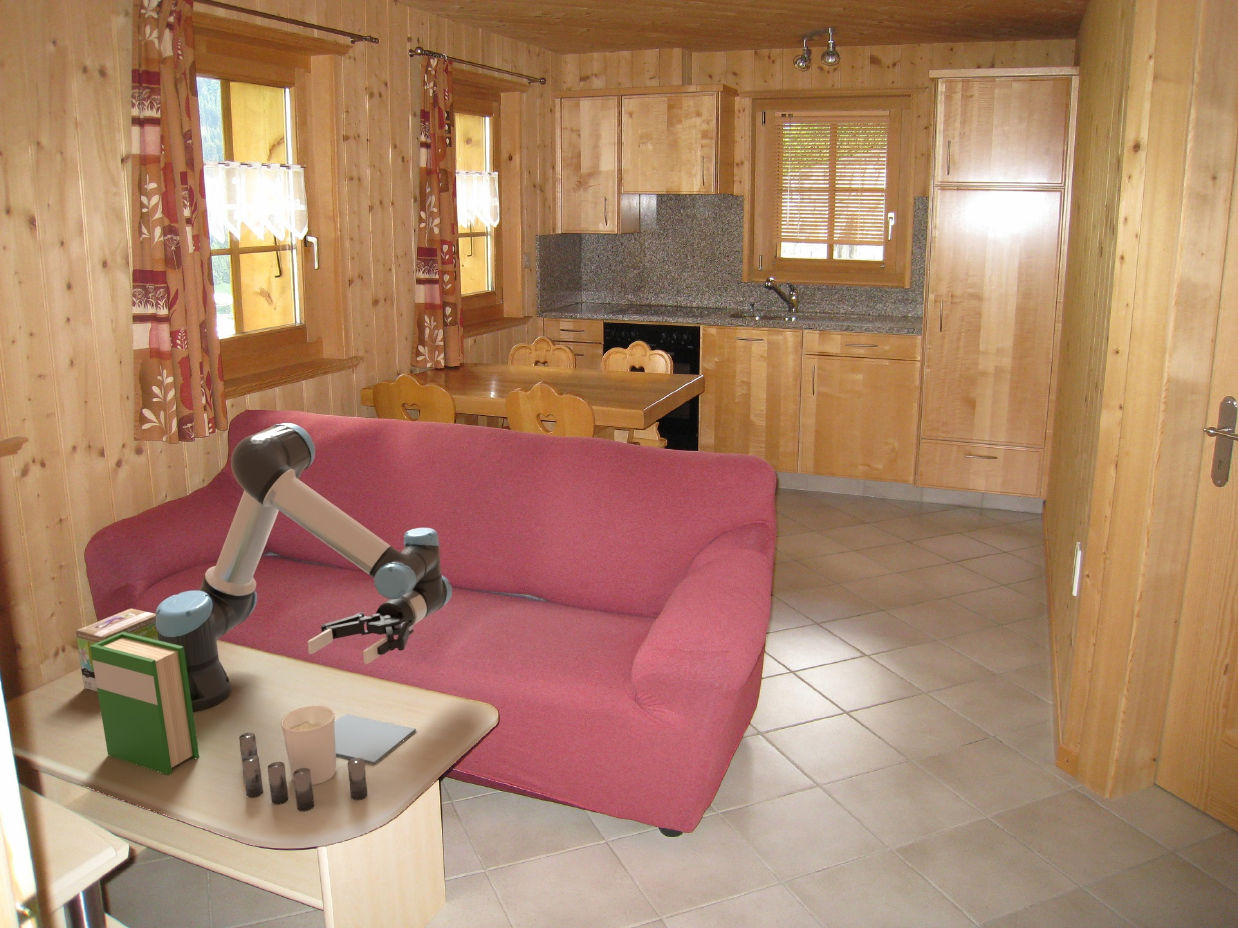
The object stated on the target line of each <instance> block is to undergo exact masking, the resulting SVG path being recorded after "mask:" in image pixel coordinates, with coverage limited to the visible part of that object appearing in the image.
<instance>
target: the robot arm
mask: <svg viewBox="0 0 1238 928" xmlns="http://www.w3.org/2000/svg"><path fill="white" fill-rule="evenodd" d="M315 457H316V446H315V443H314V441H313V439H312V436H311V435H310V433H308V431H307V430H305V429H304V428H303V427H302V426H300V425H298V424H295V423H291V422H284V423H279V424H274V425H271V426H270V427H268V428H265V429H263V430H261V431H259V432H256V433H254V434H251V435H248V436H246V437H244V438H243V439H242V440H241V441H239V442H238V443H237V445H235V448H234V449H233V451H232V454H231V458H230V466H231V471H232V475H233V477H234V479H235V480H236V482H237V483H238V485H239V486H240V487H241V489H243V493H242V495H241V498H240V502H239V503H238V507H237V509H236V511H235V514H234V516H233V519H232V521H231V523H230V528H229V531H228V533H227V535H226V539H225V541H224V542H223V546H222V549H221V551H220V554H219V557H218V558H217V562H216V565H214V566H211V567H209V568H208V569H207V570H206V571H205V574H204V576H203V579H202V582H201V584H200V587H199V589H198V590H186V591H182V592H179V593H178V594H173V595H170V596H169V597H167V598H165V599H164V600H163V601H161V602H160V603H159V604H158V606H157V608H156V610H155V614H156V629H157V633H158V639H159V641H163V642H167V643H171V644H175V645H179V646H183V647H184V653H185V660H186V667H187V674H188V681H189V688H190V695H191V702H192V709H193V712H196V711H197V712H198V711H202V710H205V709H208V708H211V707H214V706H217V705H218V704H220V703H221V702H223V701H225V700H226V699H227V698H229V696H230V695H231V693H232V686H231V685H232V684H231V680H230V678H229V676H228V675H227V672H226V670H225V668H224V667H223V665H222V663H221V661H220V657H219V651H218V644H217V643H218V642H217V641H218V640H219V639H220V638H222V637H223V636H224V635H225V634H227V633H228V632H230V631H231V630H232V629H234V628H235V627H237V626H239V625H240V624H242V623H243V622H244V621H246V620H247V619H248V618H249V617H250V615H251V614H252V613H253V611H254V610H255V607H256V606H257V602H258V593H257V592H256V588H257V582H256V580H255V578H254V575H255V572H256V570H257V567H258V564H259V563H260V559H261V558H262V554H263V553H264V549H265V547H266V545H267V543H268V540H269V537H270V534H271V531H272V529H273V527H274V525H275V521H276V520H277V516H278V513H279V512H281V513H282V514H283V515H285V516H286V517H287V518H289V519H291V520H292V521H293V522H295V523H296V524H297V525H299V526H300V527H302V528H303V529H304V530H305V531H307V532H309V533H310V534H311V535H313V536H314V537H315V538H316V539H319V540H320V541H321V542H323V543H324V544H325V545H326V546H328V547H329V548H331V549H332V550H334V551H335V552H337V554H339V555H341V556H342V557H343V558H345V559H346V560H347V561H349V562H351V563H352V564H354V565H355V566H357V567H358V568H359V569H361V570H362V571H363V572H365V573H366V574H368V575H369V576H370V577H371V578H373V582H374V583H373V584H374V587H375V589H376V591H377V592H378V594H379V595H380V596H382V597H383V598H385V599H388V600H386V601H385V602H383V603H382V604H380V605H379V607H378V608H377V610H376V611H375V613H374V614H371V615H369V616H365V612H363V611H360V612H358V613H356V614H354V615H350V616H347V617H344V618H339V619H337V620H334V621H330V622H327V623H324V624H321V625H320V628H321V632H320V633H318V634H317V635H316V636H314V637H312V638H311V639H308V640H307V647H308V650H307V651H308V654H309V655H312V654H314V653H317V652H318V651H319V650H321V649H323V648H325V647H326V646H328V645H330V644H331V643H333V642H334V640H335V639H341V638H345V637H350V636H355V635H361V636H367V635H371V634H376V635H379V636H381V635H385V637H382V638H381V639H379V640H378V641H376V642H374V643H373V644H371V645H370V646H368V647H367V648H364V650H362V654H363V664H365V665H368V664H370V663H371V662H374V660H376V659H377V658H379V657H380V656H383V655H385V654H386V653H388V652H390V651H394V650H395V649H397V650H398V651H404V650H405V648H406V645H407V642H408V640H409V638H410V636H411V634H413V633H414V626H415V625H416V624H417V623H420V622H421V621H423V619H425V618H428V617H429V616H430V615H432V614H433V613H435V612H437V611H439V610H441V609H442V608H443V607H444V606H445V605H446V604H448V602H449V601H450V600H451V598H452V594H453V587H452V585H451V583H450V581H449V579H448V578H447V577H445V576H444V575H443V574H442V567H441V566H442V565H441V554H440V553H441V551H440V547H441V546H440V545H441V544H440V540H439V533H438V532H437V530H435V529H433V528H431V527H416V528H412V529H410V530H407V531H406V532H405V533H404V535H403V545H404V548H403V549H402V550H401V551H399V550H397V549H396V548H394V547H393V546H391V545H390V544H389V543H387V542H386V541H385V540H383V539H382V538H381V537H379V536H377V535H376V534H375V533H373V532H372V531H371V530H370V529H368V528H366V527H365V526H364V525H362V524H361V523H360V522H358V521H357V520H356V519H354V518H353V517H351V516H350V515H348V514H347V513H346V512H345V511H343V510H342V509H340V508H339V507H338V506H336V505H335V504H333V503H332V502H330V501H329V500H328V499H326V498H325V497H324V496H322V495H321V494H319V493H318V492H317V491H316V490H314V489H312V488H311V487H310V486H308V484H305V482H303V481H301V480H300V477H301V475H302V473H303V472H304V471H305V470H307V469H308V468H310V466H311V465H312V464H313V462H314V460H315ZM365 624H366V626H365ZM365 627H366V629H365ZM394 636H397V638H396V639H395V637H394Z"/></svg>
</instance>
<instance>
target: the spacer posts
mask: <svg viewBox="0 0 1238 928" xmlns="http://www.w3.org/2000/svg"><path fill="white" fill-rule="evenodd" d="M256 737H257V736H256V733H254V732H251V731H250V732H245V733H242V734H240V735H239V737H238V741H239V748H240V757H241V764H242V770H243V778H244V785H245V794H246V797H247V798H250V799H253V798H254V799H255V798H257V797H260V796H262V795H263V794H264V785H263V778H262V770H261V762H260V757H259V754H258V753H259V752H258V745H257V738H256ZM365 765H366V764H365V762H364V759H362V758H353V759H349V760H348V761H347V771H348V772H347V773H348V781H349V790H350V791H349V792H350V793H349V794H350V799H351V800H353V801H361V800H364V799H366V798H367V797H368V786H367V776H366V775H367V774H366V766H365ZM267 775H268V783H269V784H268V785H269V791H270V793H269V794H270V800H271V804H273V805H283V804H285V803H286V802H288V800H289V799H290V798H289V792H288V782H287V774H286V765H285V762H282V761H274V762H272V763H270V764H268V766H267ZM293 777H294V781H293V783H294V792H295V801H296V809H297V811H299V812H308V811H311V810H312V809H313V808H314V807H315V801H314V800H315V799H314V791H313V789H314V788H313V785H312V780H311V771H310V769H308V768H301V769H298V770H296V771H295V772H294V773H293Z"/></svg>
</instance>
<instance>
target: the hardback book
mask: <svg viewBox="0 0 1238 928" xmlns="http://www.w3.org/2000/svg"><path fill="white" fill-rule="evenodd" d="M90 649H91V655H92V661H93V667H94V673H95V679H96V685H97V691H98V692H97V691H96V692H97V695H98V702H99V709H100V714H101V720H102V727H103V733H104V739H105V745H106V752H107V755H110V756H109V757H111V756H112V758H114V757H115V759H117V758H118V760H121V761H123V762H124V761H125V762H127V763H131V764H134V765H136V764H137V765H136V766H140V767H142V766H143V768H145V767H146V768H145V769H148V768H149V769H148V770H151V769H152V770H151V771H154V770H155V771H154V772H157V771H159V772H158V773H160V772H161V773H160V774H163V773H164V774H163V775H166V774H167V775H166V776H169V775H168V774H170V773H171V774H173V770H172V768H174V767H176V766H177V765H179V764H181V763H182V762H184V761H186V760H188V759H189V758H190V757H191V758H190V759H193V758H194V760H196V759H195V758H197V759H198V758H200V753H199V747H198V746H199V745H198V740H197V739H198V737H197V732H196V725H195V724H196V723H195V719H194V717H195V716H194V711H193V709H192V702H191V695H190V688H189V681H188V674H187V667H186V660H185V653H184V647H183V646H179V645H175V644H171V643H167V642H163V641H158V640H154V639H150V638H146V637H142V636H138V635H134V634H130V633H126V632H121V633H119V634H117V635H114V636H112V637H110V638H107V639H105V640H103V641H100V642H98V643H95V644H93V645H91V646H90ZM171 774H170V775H171Z"/></svg>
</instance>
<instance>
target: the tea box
mask: <svg viewBox="0 0 1238 928" xmlns="http://www.w3.org/2000/svg"><path fill="white" fill-rule="evenodd" d="M121 632H126V633H130V634H134V635H138V636H142V637H146V638H150V639H154V640H158V641H159V639H158V633H157V629H156V613H153V612H149V611H144V610H140V609H136V608H128V609H126V610H123V611H121V612H118V613H116V614H113V615H111V616H108V617H106V618H104V619H101V620H99V621H98V620H97V621H95V622H93V623H91V624H89V625H86V626H83V627H80V628H78V629H76V630H75V634H76V641H77V648H78V649H77V650H78V656H79V664H80V668H81V669H80V671H81V678H82V684H83V688H84V689H87V690H91V691H93V692H97V693H98V691H97V685H96V679H95V673H94V667H93V661H92V655H91V649H90V646H91V645H93V644H95V643H98V642H100V641H103V640H105V639H107V638H110V637H112V636H114V635H117V634H119V633H121Z"/></svg>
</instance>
